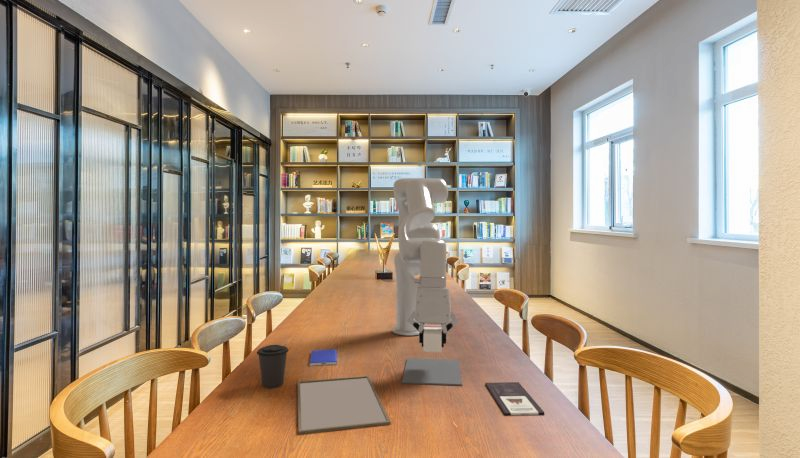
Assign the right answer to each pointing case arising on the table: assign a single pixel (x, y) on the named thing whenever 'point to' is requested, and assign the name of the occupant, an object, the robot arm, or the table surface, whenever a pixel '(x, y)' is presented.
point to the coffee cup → (272, 365)
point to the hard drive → (323, 357)
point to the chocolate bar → (513, 399)
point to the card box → (432, 338)
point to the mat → (432, 372)
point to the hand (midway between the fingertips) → (432, 345)
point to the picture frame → (339, 405)
